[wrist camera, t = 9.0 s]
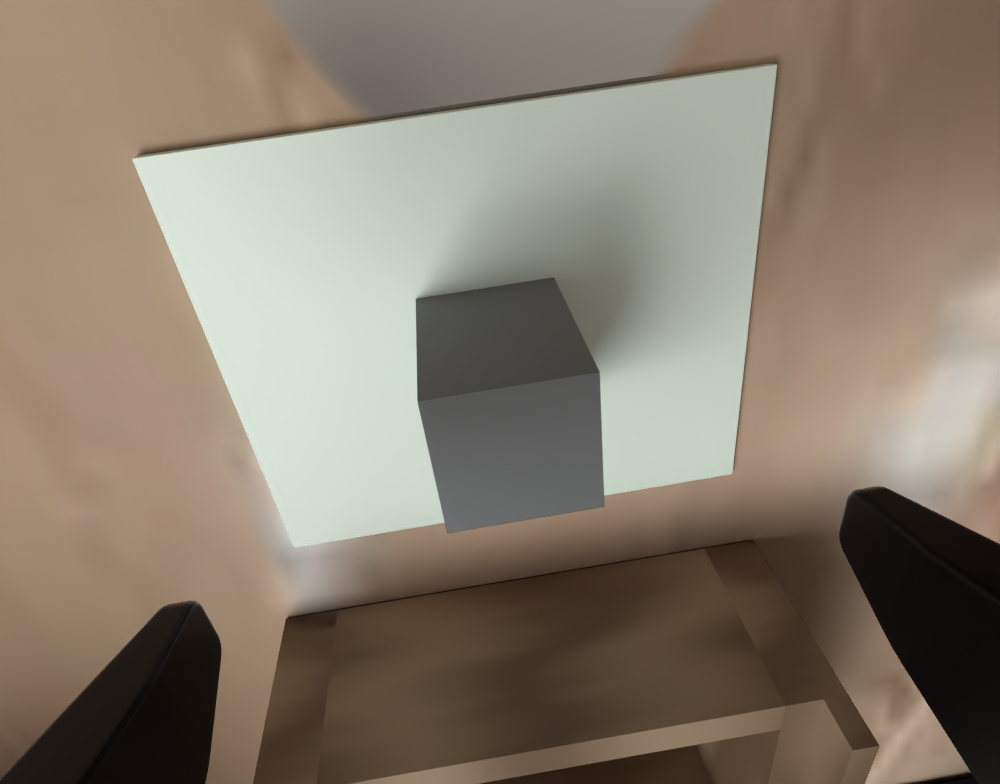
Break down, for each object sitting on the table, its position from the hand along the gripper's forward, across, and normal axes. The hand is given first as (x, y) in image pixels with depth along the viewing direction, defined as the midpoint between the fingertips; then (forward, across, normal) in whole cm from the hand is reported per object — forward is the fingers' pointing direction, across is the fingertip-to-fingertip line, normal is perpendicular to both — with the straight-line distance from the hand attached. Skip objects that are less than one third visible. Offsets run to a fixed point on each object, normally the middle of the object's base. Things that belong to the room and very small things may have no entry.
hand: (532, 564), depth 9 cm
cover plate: (+8, 0, 0) cm, 8 cm away
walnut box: (+7, 0, +14) cm, 15 cm away
